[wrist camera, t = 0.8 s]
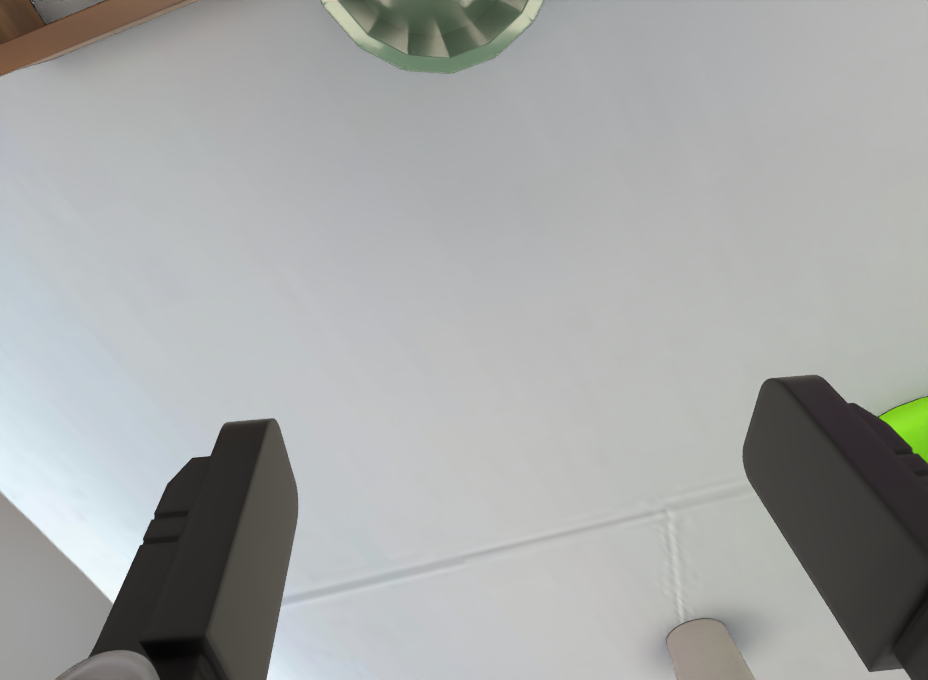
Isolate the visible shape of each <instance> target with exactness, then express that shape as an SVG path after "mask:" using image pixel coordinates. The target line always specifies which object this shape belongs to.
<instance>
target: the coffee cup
mask: <svg viewBox="0 0 928 680" xmlns="http://www.w3.org/2000/svg"><path fill="white" fill-rule="evenodd" d="M667 646H668V650H669V653H670V657H671V660H672V664H673V668H674V671H675V675H676V678H677V680H755V678H754V676H753V674H752V673H751V671H750V669H749V667H748V666H747V664H746V662H745V660H744V659H743V657H742V655H741V653H740V652H739V650H738V648H737V646H736V644H735V643H734V641H733V639H732V637H731V636H730V634H729V632H728V630H727V629H726V627H725V625H724V624H723V623H721V622H720V621H717V620H713V619H698V620H693V621H690V622H687V623H684V624H682V625H680V626H679V627H677V628H675V629H674V630H673V631H672V632H671V633H670V634H669V636H668V638H667Z"/></svg>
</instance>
